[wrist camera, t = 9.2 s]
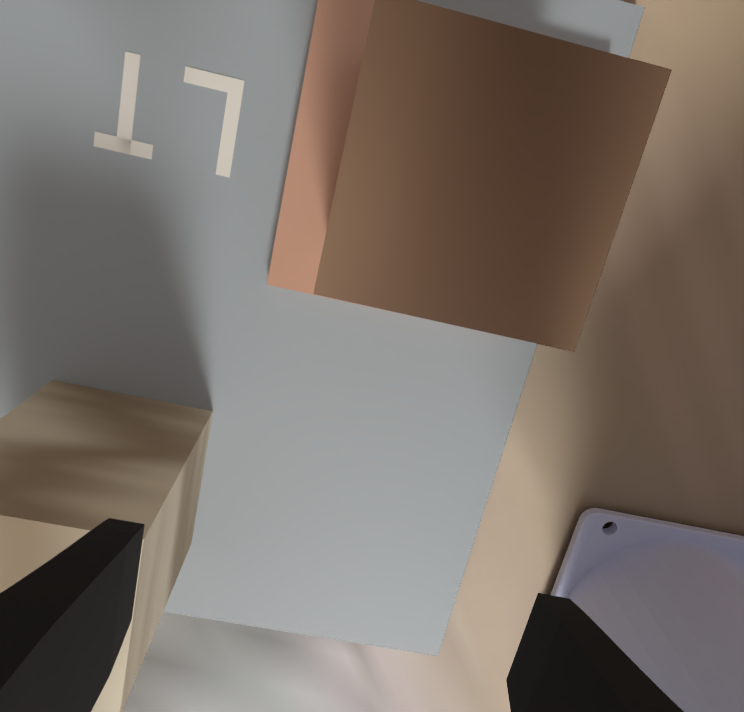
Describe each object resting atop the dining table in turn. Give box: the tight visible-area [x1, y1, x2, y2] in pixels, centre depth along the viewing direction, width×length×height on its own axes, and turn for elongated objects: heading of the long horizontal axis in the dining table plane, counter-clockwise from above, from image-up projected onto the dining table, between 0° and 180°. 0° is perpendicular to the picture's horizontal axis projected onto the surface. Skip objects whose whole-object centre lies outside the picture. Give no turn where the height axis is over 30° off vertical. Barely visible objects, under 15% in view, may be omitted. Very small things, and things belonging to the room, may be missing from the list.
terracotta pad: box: [267, 0, 415, 317], centre depth 18 cm, size 8×8×1 cm
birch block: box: [0, 380, 213, 712], centre depth 17 cm, size 5×5×7 cm
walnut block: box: [313, 0, 671, 352], centre depth 14 cm, size 5×5×7 cm
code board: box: [0, 0, 645, 656], centre depth 20 cm, size 17×22×1 cm
